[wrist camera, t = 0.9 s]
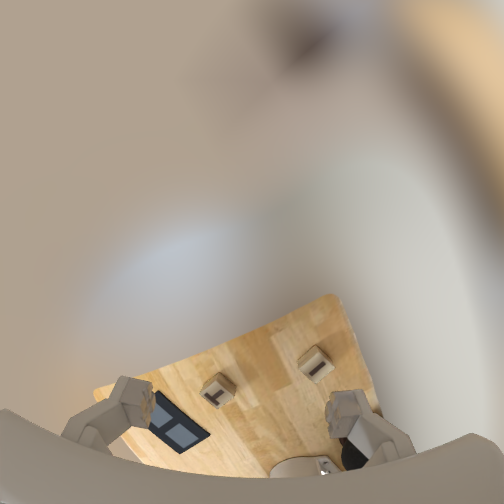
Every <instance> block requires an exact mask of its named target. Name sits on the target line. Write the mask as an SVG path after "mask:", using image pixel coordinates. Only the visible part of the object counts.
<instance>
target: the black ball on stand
mask: <svg viewBox="0 0 504 504" xmlns="http://www.w3.org/2000/svg"><path fill="white" fill-rule="evenodd" d="M339 440H340V443H341V444H342V445H343V448H342V454H341V458H342V464H343V466H344V467H345V469H346V470H347V471H350V470H355V469H361V468H363V466H364V465H365V464H366V463H367V462H368V460H369V459H368V458H367V457H366V456H365V455H364V454H363V453H362V452H361V451H360V450H359V449H358V448H357V447H356V446H355V445H354V444H353V443H352V442H351V441H350V440H349V439H348V438H347V437H343V438H339Z"/></svg>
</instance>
